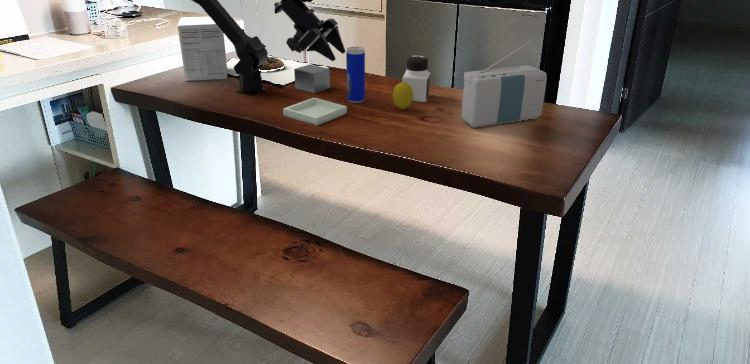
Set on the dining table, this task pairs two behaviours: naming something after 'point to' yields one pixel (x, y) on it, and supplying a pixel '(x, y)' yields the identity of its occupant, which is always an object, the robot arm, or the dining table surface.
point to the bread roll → (272, 64)
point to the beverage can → (355, 74)
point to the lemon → (402, 95)
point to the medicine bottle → (418, 77)
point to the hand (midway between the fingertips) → (339, 56)
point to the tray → (315, 111)
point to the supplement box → (202, 49)
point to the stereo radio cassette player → (503, 94)
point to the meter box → (312, 78)
